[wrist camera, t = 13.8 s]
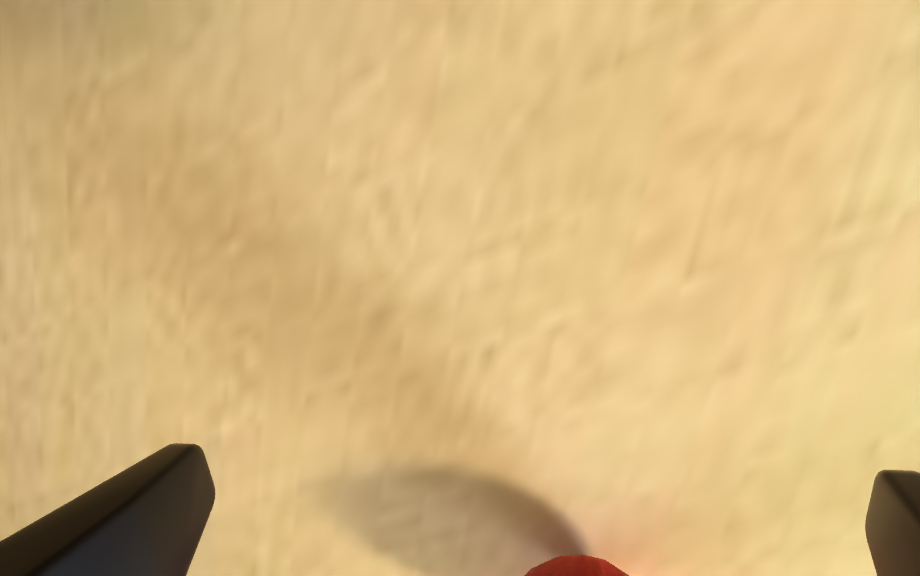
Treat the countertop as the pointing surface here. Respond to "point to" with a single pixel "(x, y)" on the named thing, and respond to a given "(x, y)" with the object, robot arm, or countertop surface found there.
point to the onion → (576, 567)
